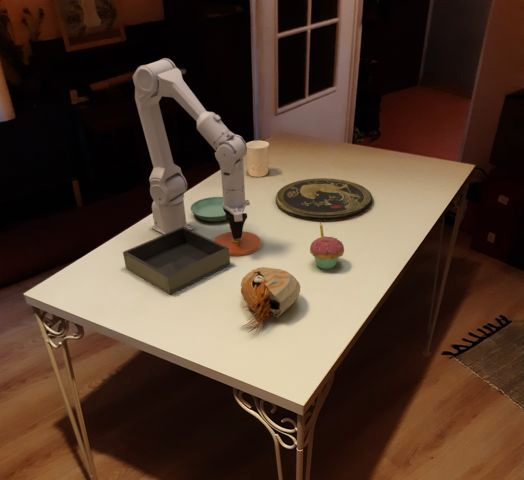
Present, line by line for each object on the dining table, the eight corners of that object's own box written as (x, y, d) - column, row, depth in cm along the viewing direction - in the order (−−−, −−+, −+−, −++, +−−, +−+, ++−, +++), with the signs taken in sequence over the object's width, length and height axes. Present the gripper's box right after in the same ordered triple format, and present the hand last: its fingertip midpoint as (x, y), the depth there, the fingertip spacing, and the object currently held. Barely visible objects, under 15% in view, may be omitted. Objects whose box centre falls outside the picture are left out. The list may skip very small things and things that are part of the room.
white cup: (243, 176, 194) (242, 147, 187) (250, 168, 199) (249, 139, 193) (265, 178, 192) (265, 149, 185) (272, 170, 197) (271, 141, 191)
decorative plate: (375, 216, 161) (271, 214, 164) (375, 222, 163) (271, 220, 165) (370, 178, 185) (279, 177, 188) (369, 183, 186) (279, 182, 189)
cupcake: (315, 274, 141) (317, 230, 133) (304, 259, 147) (305, 216, 140) (348, 269, 142) (351, 225, 135) (335, 254, 149) (338, 211, 141)
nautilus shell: (272, 346, 119) (212, 331, 125) (313, 291, 133) (257, 280, 139) (268, 316, 114) (206, 302, 120) (311, 262, 128) (253, 252, 134)
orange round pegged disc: (203, 245, 155) (200, 220, 150) (238, 229, 162) (236, 205, 157) (235, 261, 147) (234, 235, 143) (270, 243, 154) (269, 218, 150)
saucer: (241, 204, 176) (241, 195, 174) (238, 224, 164) (238, 216, 162) (194, 204, 176) (193, 196, 175) (188, 225, 165) (187, 217, 163)
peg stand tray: (125, 268, 146) (122, 252, 143) (185, 242, 156) (183, 226, 153) (170, 294, 135) (167, 277, 132) (230, 264, 146) (229, 248, 143)
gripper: (253, 196, 139) (255, 245, 147) (244, 174, 150) (246, 222, 159) (225, 198, 138) (228, 248, 147) (218, 177, 150) (221, 224, 158)
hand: (236, 234), depth 153 cm, fingers open, 3 cm apart
